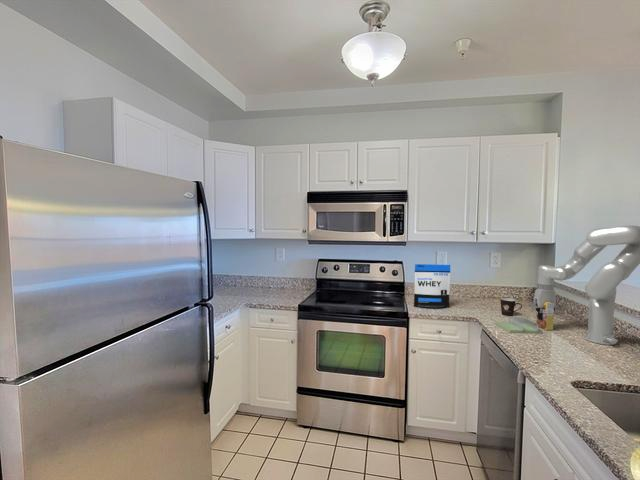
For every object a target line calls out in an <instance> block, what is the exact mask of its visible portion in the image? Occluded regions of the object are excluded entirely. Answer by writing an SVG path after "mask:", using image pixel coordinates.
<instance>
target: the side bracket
mask: <svg viewBox="0 0 640 480" xmlns="http://www.w3.org/2000/svg"><path fill="white" fill-rule="evenodd" d="M508 322H509V324H511V325H513V326H515V327H516V328H518V329H520V330H522V331H524V325H526V326H528V327H530V328H532V329H534V330H536V331H538V329H539V326H538V324H536V322H534V321H532V320H529V319H528V318H525V317H517V316H515V317H513V316H508Z"/></svg>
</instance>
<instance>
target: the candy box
mask: <svg viewBox="0 0 640 480" xmlns="http://www.w3.org/2000/svg"><path fill="white" fill-rule="evenodd" d="M536 307H538V306H536ZM535 311H536V310H535ZM542 313H543V320H539V319H538V317H537V314H538V312H537V311H536V313H535V316H536V317H535V323H536V324H538V328H541V329H544V330H546V331H553V330H554V316H555V314H554V313H555V310H554V303H552V302H544V308H543V309H542Z"/></svg>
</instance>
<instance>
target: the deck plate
mask: <svg viewBox="0 0 640 480" xmlns="http://www.w3.org/2000/svg"><path fill="white" fill-rule="evenodd" d="M493 324H494V326H497V327H499V328H500V329H502V330H504V331H506V332H507V333H509V334H540V333H542V332H543V331H542V330H541V329H539V328H538V331H536V330H534V329H532V328H530V327H528V326H526V325H524V331H522V330H520V329H518V328H516V327H515V326H513V325H511V324H509V321H497V320H496V321H494V323H493ZM542 334H543V333H542Z"/></svg>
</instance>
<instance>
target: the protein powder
mask: <svg viewBox="0 0 640 480" xmlns="http://www.w3.org/2000/svg"><path fill="white" fill-rule="evenodd" d="M451 267H452V265H451V264H431V263H430V264H428V263H427V264H419V263H418V264H417V263H415V264H414V290H413V292H414V294H413V297H414V298H413V308H419V309H427V310H443V309H449V308H450V290H451V289H450V288H451V287H450V285H451Z"/></svg>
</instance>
